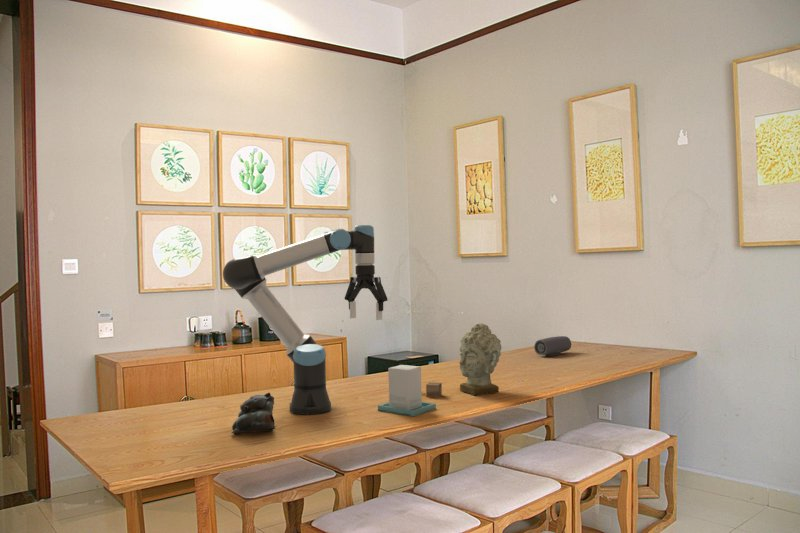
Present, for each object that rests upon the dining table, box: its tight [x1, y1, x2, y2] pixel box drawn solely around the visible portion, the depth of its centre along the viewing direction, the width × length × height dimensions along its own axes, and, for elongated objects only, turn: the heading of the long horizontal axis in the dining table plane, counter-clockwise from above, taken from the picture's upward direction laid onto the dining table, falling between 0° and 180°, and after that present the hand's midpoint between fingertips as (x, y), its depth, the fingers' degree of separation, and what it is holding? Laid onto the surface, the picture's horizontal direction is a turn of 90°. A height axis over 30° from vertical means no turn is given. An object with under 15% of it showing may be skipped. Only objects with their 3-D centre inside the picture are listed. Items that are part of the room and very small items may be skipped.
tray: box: [377, 401, 437, 417], centre depth 237 cm, size 14×16×2 cm
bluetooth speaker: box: [534, 335, 572, 357], centre depth 359 cm, size 23×9×10 cm, turn 130°
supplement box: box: [387, 364, 423, 410], centre depth 237 cm, size 9×9×15 cm
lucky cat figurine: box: [230, 392, 276, 435], centre depth 211 cm, size 15×12×14 cm
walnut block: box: [425, 381, 443, 399], centre depth 260 cm, size 5×5×5 cm
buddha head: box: [459, 323, 502, 397], centre depth 266 cm, size 17×19×28 cm
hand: (365, 318), depth 254 cm, fingers open, 13 cm apart
